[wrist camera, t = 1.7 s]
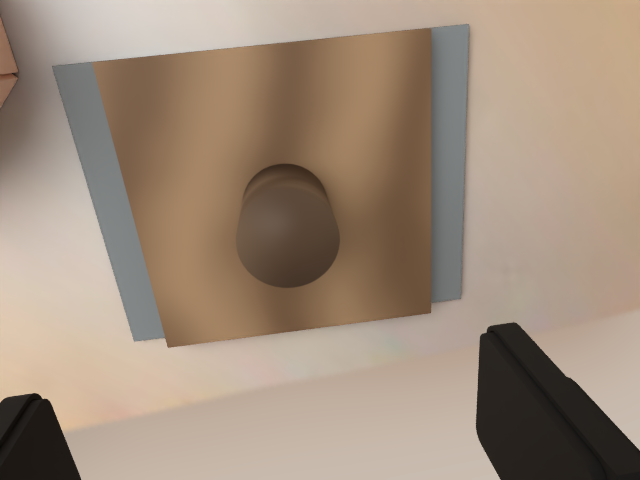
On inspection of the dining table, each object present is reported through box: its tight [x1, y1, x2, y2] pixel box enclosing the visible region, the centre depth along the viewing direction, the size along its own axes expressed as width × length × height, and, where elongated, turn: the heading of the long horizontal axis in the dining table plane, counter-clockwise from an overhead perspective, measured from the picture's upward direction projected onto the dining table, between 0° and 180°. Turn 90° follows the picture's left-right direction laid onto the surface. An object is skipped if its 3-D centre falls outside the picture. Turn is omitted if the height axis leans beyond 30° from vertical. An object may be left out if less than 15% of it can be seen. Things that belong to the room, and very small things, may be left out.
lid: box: [92, 28, 431, 348], centre depth 21 cm, size 14×14×5 cm
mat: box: [52, 24, 469, 341], centre depth 23 cm, size 18×14×1 cm
